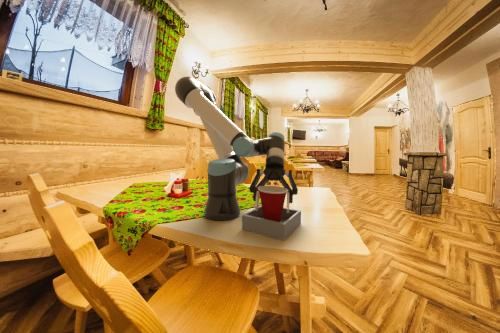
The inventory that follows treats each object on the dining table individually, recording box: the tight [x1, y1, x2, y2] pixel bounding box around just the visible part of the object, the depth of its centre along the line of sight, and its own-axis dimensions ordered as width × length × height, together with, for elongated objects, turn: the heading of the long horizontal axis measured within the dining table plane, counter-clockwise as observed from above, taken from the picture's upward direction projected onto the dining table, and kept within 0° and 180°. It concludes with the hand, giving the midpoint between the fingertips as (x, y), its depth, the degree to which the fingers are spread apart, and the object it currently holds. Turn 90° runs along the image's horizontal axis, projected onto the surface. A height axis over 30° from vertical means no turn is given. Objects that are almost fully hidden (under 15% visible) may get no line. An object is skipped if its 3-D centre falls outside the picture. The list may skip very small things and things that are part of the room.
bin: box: [241, 204, 302, 241], centre depth 67 cm, size 16×16×5 cm
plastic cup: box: [258, 184, 288, 222], centre depth 66 cm, size 11×11×12 cm
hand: (271, 209), depth 63 cm, fingers open, 10 cm apart
